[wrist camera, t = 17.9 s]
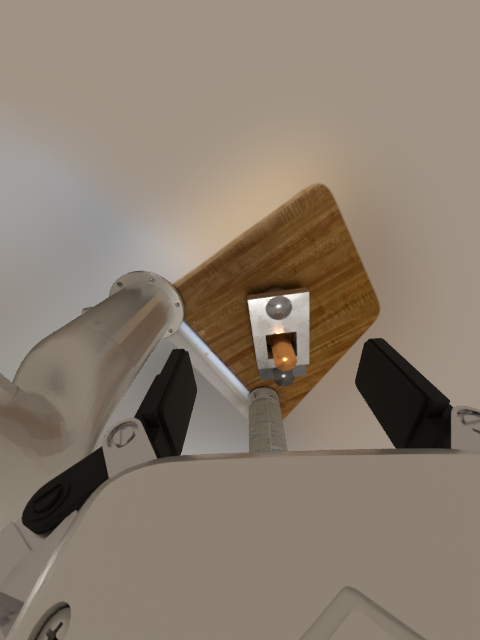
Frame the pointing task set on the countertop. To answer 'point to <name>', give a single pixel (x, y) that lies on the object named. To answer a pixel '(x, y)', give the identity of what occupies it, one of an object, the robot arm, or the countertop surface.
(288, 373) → the plate
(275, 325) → the plate with square hole
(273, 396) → the spray can
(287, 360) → the pin
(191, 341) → the countertop surface
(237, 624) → the robot arm
